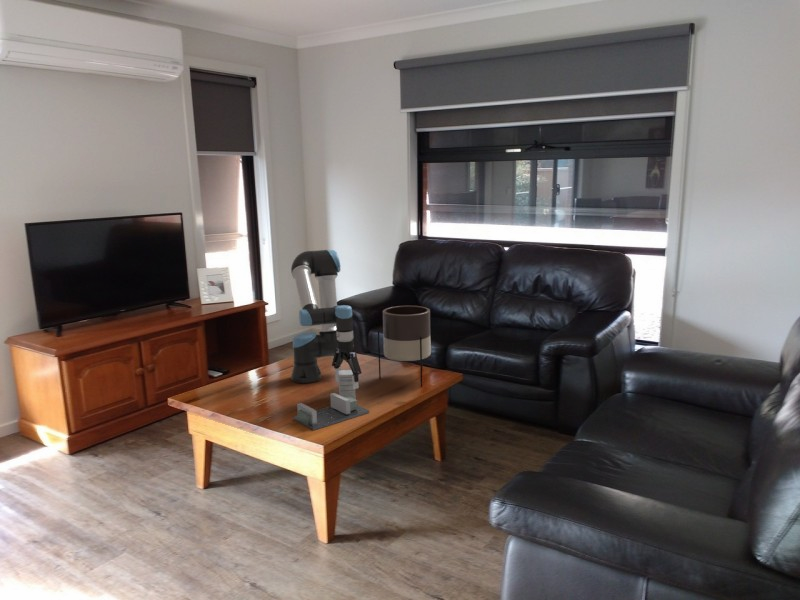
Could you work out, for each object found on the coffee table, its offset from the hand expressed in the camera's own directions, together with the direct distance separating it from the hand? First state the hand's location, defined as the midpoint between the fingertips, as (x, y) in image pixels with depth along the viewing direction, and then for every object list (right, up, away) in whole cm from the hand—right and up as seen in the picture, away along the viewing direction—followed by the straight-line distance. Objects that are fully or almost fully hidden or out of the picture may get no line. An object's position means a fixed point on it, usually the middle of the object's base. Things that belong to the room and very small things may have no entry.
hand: (347, 385), depth 275 cm
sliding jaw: (+1, -8, -15) cm, 17 cm away
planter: (+30, -1, +27) cm, 40 cm away
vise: (-5, -10, -19) cm, 22 cm away
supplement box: (0, -7, +2) cm, 7 cm away
